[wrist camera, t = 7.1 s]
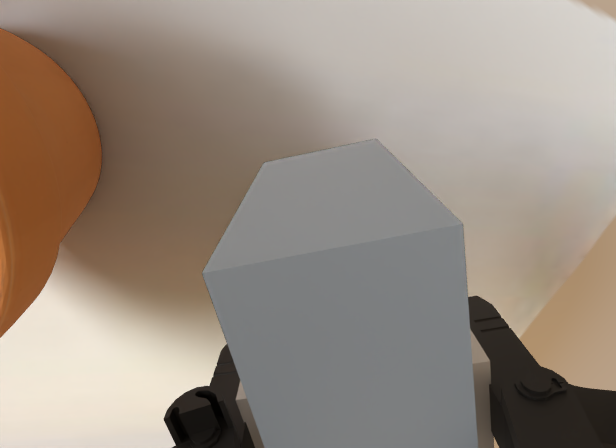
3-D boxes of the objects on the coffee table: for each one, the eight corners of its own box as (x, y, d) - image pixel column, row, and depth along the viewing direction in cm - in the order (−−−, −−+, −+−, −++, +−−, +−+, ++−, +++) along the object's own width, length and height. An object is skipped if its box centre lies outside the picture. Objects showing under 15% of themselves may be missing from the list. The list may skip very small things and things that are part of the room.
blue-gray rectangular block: (263, 162, 13) (201, 273, 6) (376, 138, 13) (462, 224, 5) (319, 378, 17) (325, 617, 9) (408, 363, 16) (488, 600, 9)
